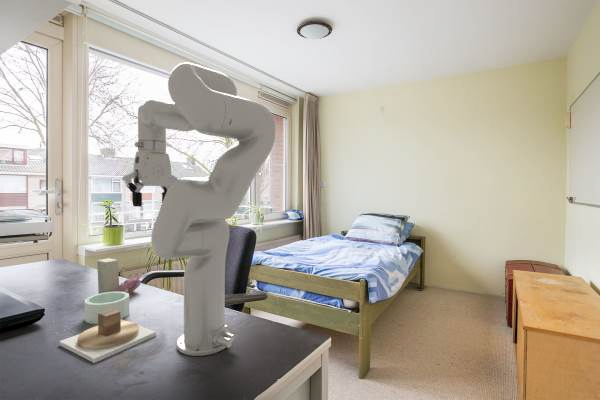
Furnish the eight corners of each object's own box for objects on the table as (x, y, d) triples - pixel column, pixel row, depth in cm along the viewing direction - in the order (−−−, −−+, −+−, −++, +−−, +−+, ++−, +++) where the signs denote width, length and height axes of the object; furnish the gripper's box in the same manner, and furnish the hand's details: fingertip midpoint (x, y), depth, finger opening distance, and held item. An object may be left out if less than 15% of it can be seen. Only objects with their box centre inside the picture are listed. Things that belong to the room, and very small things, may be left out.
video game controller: (117, 304, 107) (126, 287, 106) (107, 297, 108) (115, 280, 107) (137, 295, 117) (145, 278, 116) (127, 288, 117) (135, 272, 116)
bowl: (137, 313, 96) (136, 295, 95) (98, 327, 86) (98, 307, 86) (115, 306, 101) (115, 289, 101) (77, 318, 91) (76, 299, 91)
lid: (150, 332, 82) (149, 309, 81) (96, 355, 70) (96, 328, 70) (119, 321, 88) (119, 299, 88) (66, 340, 77) (66, 315, 77)
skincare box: (119, 294, 113) (119, 259, 112) (106, 297, 109) (106, 262, 108) (110, 290, 116) (109, 257, 116) (97, 294, 112) (96, 259, 112)
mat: (156, 335, 82) (156, 331, 82) (94, 363, 69) (94, 358, 69) (121, 322, 89) (121, 319, 89) (59, 345, 76) (59, 341, 76)
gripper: (132, 143, 86) (132, 207, 87) (184, 150, 101) (184, 204, 102) (116, 145, 90) (116, 206, 90) (168, 151, 105) (168, 204, 105)
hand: (152, 205), depth 96 cm, fingers open, 9 cm apart
